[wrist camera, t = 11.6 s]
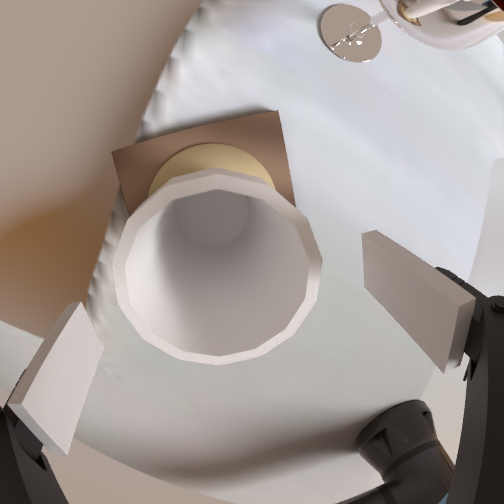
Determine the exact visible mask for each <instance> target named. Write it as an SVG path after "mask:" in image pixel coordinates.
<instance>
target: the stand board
mask: <svg viewBox="0 0 504 504" xmlns="http://www.w3.org/2000/svg"><path fill="white" fill-rule="evenodd" d="M112 155H113V159H114V163H115V167H116V171H117V174H118V178H119V182H120V185H121V189H122V192H123V196H124V199H125V202H126V206H127V209H128V212H129V215H130V216H131V215H132V214H133V213H134V211H135V210H136V209H137V208H138V207H139V206H140V205H141V204H142V203H143V202H144V201H145V200H147V199H148V198H149V197H150V196H151V195H152V194H154V193H155V192H156V191H157V190H158V189H159V188H161V187H162V186H163V185H164V184H165V183H166V182H168V181H169V180H170V179H171V178H173V177H177V176H181V175H185V174H189V173H194V172H198V171H202V170H206V169H211V168H215V167H218V168H222V169H227V170H231V171H235V172H240V173H244V174H248V175H252V176H256V177H260V178H262V179H263V180H264V181H265V182H266V183H267V184H269V185H270V186H271V187H272V188H273V189H275V190H276V191H277V192H278V193H279V194H280V195H281V196H283V197H284V198H285V199H286V200H287V201H288V202H290V203H291V204H292V205H293V206H294V207H295V208H296V205H295V199H294V193H293V187H292V182H291V176H290V170H289V165H288V159H287V154H286V148H285V143H284V138H283V132H282V127H281V122H280V117H279V112H278V110H277V111H271V112H265V113H259V114H254V115H249V116H243V117H238V118H233V119H229V120H224V121H219V122H215V123H211V124H206V125H202V126H198V127H194V128H190V129H186V130H182V131H178V132H175V133H171V134H167V135H164V136H160V137H157V138H153V139H150V140H147V141H143V142H140V143H137V144H134V145H131V146H128V147H124V148H122V149H119V150H116V151H113V152H112Z"/></svg>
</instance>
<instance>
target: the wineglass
mask: <svg viewBox="0 0 504 504" xmlns="http://www.w3.org/2000/svg"><path fill="white" fill-rule="evenodd" d="M379 2H380V4H381V6H382V8H383V9H384V11H382V12H380V13H378V14H377V15H375V16H373V17H370V16H369V15H368V14H367V13H366V12H364V11H363V10H361V9H359V8H357V7H355V6H351V5H345V4H342V5H336V6H333V7H331V8H329V9H328V10H327V11H326V12H325V13H324V15H323V16H322V19H321V24H320V29H321V34H322V37H323V39H324V41H325V43H326V44H327V46H328V47H329V48H330V49H331V50H332V51H333V52H334V53H335V54H336V55H337V56H339V57H341V58H342V59H344V60H347V61H350V62H354V63H363V62H367V61H370V60H372V59H373V58H375V57H376V56H377V54H378V53H379V51H380V48H381V43H382V39H381V33H380V30H379V28H378V26H377V24H379V23H381V22H383V21H385V20H388V19H391V20H392V21H393V22H394V23H395V24H396V25H397V26H398V27H399V28H400V29H401V30H403V31H404V32H405V33H407V34H408V35H409V36H411V37H412V38H414V39H416V40H418V41H419V42H421V43H424V44H426V45H428V46H431V47H434V48H437V49H442V50H452V51H454V50H462V49H466V48H470V47H472V46H475V45H477V44H479V43H481V42H483V41H485V40H487V39H489V38H491V37H492V36H494V35H496V34H498V33H500V32H501V31H503V30H504V0H379Z"/></svg>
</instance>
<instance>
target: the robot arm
mask: <svg viewBox="0 0 504 504" xmlns="http://www.w3.org/2000/svg"><path fill="white" fill-rule="evenodd" d="M362 247H363V264H364V287H365V288H366V289H367V290H368V291H369V292H370V293H371V294H372V295H373V296H374V297H375V298H376V299H377V301H378V302H379V303H380V304H381V305H382V306H383V307H384V308H385V309H386V310H387V311H388V312H389V313H390V314H391V315H392V316H393V318H394V319H395V320H396V321H397V322H398V323H399V324H400V325H401V326H402V327H403V328H404V330H405V331H406V332H407V333H408V334H409V335H410V336H411V337H412V338H413V339H414V341H415V342H416V343H417V344H418V345H419V346H420V347H421V348H422V349H423V351H424V352H425V353H426V354H427V355H428V356H429V357H430V359H431V360H432V361H433V362H434V363H435V364H436V365H437V367H438V368H439V369H440V370H441V371H442V372H443V374H445V373H447V372H449V371H450V370H452V369H454V368H456V367H458V366H460V364H461V361H462V357H463V354H464V352H465V353H466V354H467V355H468V356H469V357H470V360H469V363H468V366H467V370H466V373H465V376H464V379H463V381H466V379H467V389H466V400H465V409H464V417H463V425H462V432H461V438H460V444H459V449H458V454H457V460H456V464H455V465H454V464H453V462H452V460H451V459H450V457H449V456H448V454H447V453H446V451H445V450H444V448H443V446H442V445H441V443H440V442H439V440H438V439H437V435H436V430H435V426H434V421H433V418H432V413H431V411H430V409H429V408H428V406H427V405H426V403H425V402H423V401H420V400H414V401H409V402H406V403H403V404H401V405H398V406H396V407H394V408H392V409H390V410H388V411H387V412H385V413H383V414H382V415H380V416H379V417H378V418H376V419H375V420H374V421H372V422H371V423H370V424H369V425H368V426H367V427H366V428H365V429H364V430H363V431H362V432H361V433H360V435H359V436H358V438H357V441H356V447H357V449H358V451H359V453H360V455H361V456H362V457H363V458H364V459H365V460H366V461H367V462H368V463H369V464H370V465H371V466H372V467H373V468H375V469H376V470H377V471H378V472H379V473H380V475H381V477H382V479H383V481H384V484H382V485H380V486H378V487H376V488H374V489H371V490H369V491H367V492H365V493H362V494H360V495H357V496H355V497H352V498H350V499H347V500H345V501H342V502H339V503H336V504H504V296H492V297H489V298H488V297H486V296H485V295H483V294H482V293H481V292H479V291H478V290H477V289H475V288H474V287H472V286H471V285H469V284H468V283H467V282H466V283H465V281H464V280H462V279H461V278H458V276H456V275H455V274H454V273H452V272H451V271H449V270H446V269H443V268H440V267H436V268H434V267H432V266H431V265H429V264H428V263H426V262H425V261H423V260H422V259H420V258H419V257H417V256H416V255H414V254H413V253H411V252H410V251H408V250H407V249H405V248H404V247H402V246H401V245H399V244H397V243H396V242H394V241H393V240H391V239H390V238H388V237H386V236H385V235H383V234H382V233H380V232H378V231H377V230H374V231H370V232H366V233H362ZM103 351H104V346H103V344H102V342H101V340H100V339H99V337H98V335H97V333H96V331H95V329H94V327H93V325H92V323H91V321H90V319H89V317H88V315H87V313H86V311H85V309H84V306H83V304H82V302H81V301H80V302H76V303H71V304H68V306H67V307H66V308H65V310H64V311H63V313H62V314H61V316H60V317H59V319H58V320H57V322H56V323H55V325H54V326H53V328H52V329H51V331H50V332H49V334H48V335H47V337H46V338H45V340H44V341H43V343H42V344H41V346H40V348H39V349H38V351H37V352H36V354H35V356H34V357H33V359H32V361H31V362H30V364H29V366H28V367H27V368H26V369H25V370H24V372H23V374H22V375H21V377H20V379H19V380H20V381H18V382H17V384H16V388H14V389H13V391H12V393H11V395H10V397H9V398H8V400H7V402H6V404H5V406H4V408H3V409H2V408H1V406H0V504H69V503H68V501H67V499H66V498H65V496H64V494H63V492H62V490H61V488H60V486H59V484H58V482H57V480H56V478H55V475H54V473H53V471H52V469H51V467H50V464H49V462H48V460H47V458H46V456H45V455H44V454H43V453H42V452H41V450H42V447H43V445H44V446H45V447H46V448H47V449H48V450H49V451H50V452H51V453H52V454H55V455H68V453H69V449H70V446H71V442H72V439H73V436H74V433H75V429H76V426H77V423H78V420H79V417H80V414H81V411H82V408H83V405H84V402H85V399H86V396H87V393H88V391H89V388H90V385H91V382H92V379H93V377H94V374H95V371H96V369H97V366H98V364H99V361H100V358H101V356H102V353H103Z"/></svg>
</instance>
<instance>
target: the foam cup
mask: <svg viewBox="0 0 504 504" xmlns="http://www.w3.org/2000/svg"><path fill="white" fill-rule="evenodd" d="M321 267H322V257H321V254H320V252H319V249H318V246H317V243H316V240H315V238H314V235H313V232H312V230H311V227H310V224H309V222H308V219H307V218H306V217H305V216H304V215H303V214H302V213H301V212H300V211H299V210H297V209H296V208H295V207H294V206H293V205H292V204H291V203H290V202H288V201H287V200H286V199H285V198H284V197H283V196H281V195H280V194H279V193H278V192H277V191H276V190H275V189H273V188H272V187H271V186H270V185H269V184H267V183H266V182H265V181H264V180H263V179H262V178H260V177H256V176H252V175H248V174H244V173H240V172H235V171H231V170H227V169H222V168H218V167H215V168H211V169H206V170H202V171H198V172H194V173H189V174H185V175H181V176H177V177H173V178H171V179H170V180H169V181H168V182H166V183H165V184H164V185H163V186H162V187H161V188H159V189H158V190H157V191H156V192H155V193H154V194H152V195H151V196H150V197H149V198H148V199H147V200H145V201H144V202H143V203H142V204H141V205H140V206H139V207H138V208H137V209H136V210H135V211H134V213H133V214H132V215H131V216H130V217H129V218H128V220H127V222H126V224H125V227H124V230H123V233H122V235H121V238H120V241H119V244H118V246H117V249H116V252H115V255H114V258H113V261H112V269H113V275H114V282H115V288H116V294H117V299H118V305H119V307H120V308H121V310H122V311H123V312H124V314H125V315H126V317H127V318H128V319H129V321H130V322H131V323H132V325H133V326H134V327H135V329H136V330H137V331H138V333H139V334H140V335H141V337H142V338H143V339H144V340H146V341H147V342H149V343H151V344H153V345H154V346H156V347H158V348H159V349H161V350H163V351H165V352H166V353H168V354H170V355H172V356H174V357H175V358H177V359H179V360H186V361H192V362H199V363H206V364H213V365H224V364H228V363H233V362H238V361H242V360H247V359H251V358H256V357H260V356H261V355H263V354H265V353H266V352H268V351H269V350H271V349H272V348H274V347H275V346H277V345H278V344H280V343H282V342H283V341H285V340H286V339H288V338H289V337H291V336H292V335H293V334H294V333H295V332H296V330H297V329H298V328H299V326H300V325H301V323H302V322H303V320H304V319H305V317H306V316H307V314H308V313H309V311H310V310H311V308H312V307H313V305H314V304H315V302H316V301H317V294H318V288H319V281H320V274H321Z"/></svg>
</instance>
